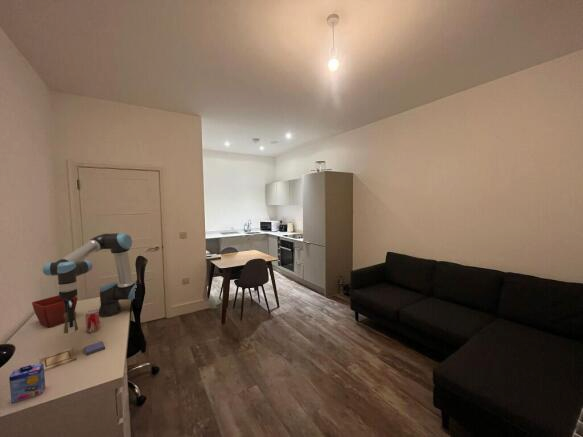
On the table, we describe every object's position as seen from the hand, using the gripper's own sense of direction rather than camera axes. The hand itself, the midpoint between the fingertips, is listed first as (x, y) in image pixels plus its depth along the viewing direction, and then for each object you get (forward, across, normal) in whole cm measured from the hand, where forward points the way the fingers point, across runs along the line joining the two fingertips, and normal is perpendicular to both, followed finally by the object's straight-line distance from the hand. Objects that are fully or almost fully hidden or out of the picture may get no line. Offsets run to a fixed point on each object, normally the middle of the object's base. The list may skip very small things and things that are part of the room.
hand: (70, 330), depth 137 cm
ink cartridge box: (+16, +22, -17) cm, 32 cm away
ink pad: (+15, +1, +10) cm, 18 cm away
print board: (+15, -1, -6) cm, 16 cm away
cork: (0, 0, 0) cm, 0 cm away
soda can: (+15, -27, +14) cm, 34 cm away
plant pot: (+15, -62, -1) cm, 64 cm away
